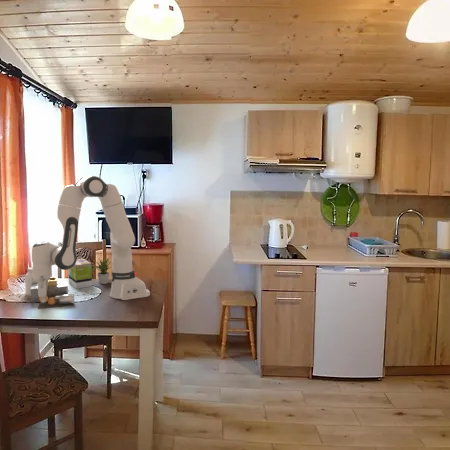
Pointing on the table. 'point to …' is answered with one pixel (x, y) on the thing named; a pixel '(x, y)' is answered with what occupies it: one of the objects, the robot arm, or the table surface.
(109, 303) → the table surface
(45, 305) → the mat
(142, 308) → the table surface
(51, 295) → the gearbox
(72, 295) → the spout can
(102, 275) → the house plant
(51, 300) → the bead
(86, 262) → the tea box
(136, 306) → the table surface
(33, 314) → the table surface
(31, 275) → the pill bottle
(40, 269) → the robot arm
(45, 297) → the bead
